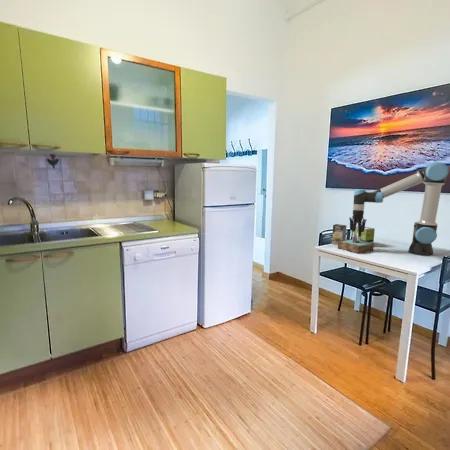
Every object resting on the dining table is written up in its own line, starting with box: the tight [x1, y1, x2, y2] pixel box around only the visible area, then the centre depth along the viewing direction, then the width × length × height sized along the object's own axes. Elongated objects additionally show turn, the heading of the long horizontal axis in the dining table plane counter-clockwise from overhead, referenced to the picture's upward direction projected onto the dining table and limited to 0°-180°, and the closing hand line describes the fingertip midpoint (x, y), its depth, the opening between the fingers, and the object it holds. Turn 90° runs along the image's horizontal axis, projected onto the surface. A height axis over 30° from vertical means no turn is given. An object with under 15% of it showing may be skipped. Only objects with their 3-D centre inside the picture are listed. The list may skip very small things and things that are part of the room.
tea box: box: [350, 225, 376, 243], centre depth 234 cm, size 15×10×15 cm, turn 25°
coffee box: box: [331, 223, 347, 245], centre depth 236 cm, size 9×6×16 cm
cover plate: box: [342, 237, 372, 247], centre depth 217 cm, size 16×16×5 cm
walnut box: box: [337, 238, 375, 254], centre depth 217 cm, size 18×18×6 cm
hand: (356, 240), depth 217 cm, fingers closed on cover plate, 3 cm apart
